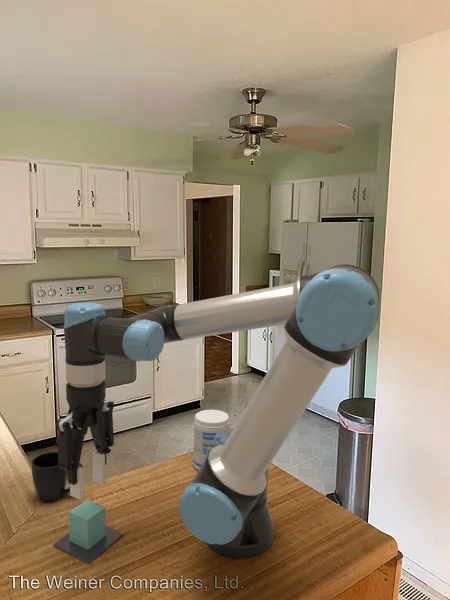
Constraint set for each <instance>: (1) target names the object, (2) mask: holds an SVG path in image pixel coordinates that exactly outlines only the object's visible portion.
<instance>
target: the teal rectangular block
mask: <svg viewBox="0 0 450 600" xmlns="http://www.w3.org/2000/svg"><path fill="white" fill-rule="evenodd" d="M106 507H107V506H104V505H101V504H99V503H97V502H95V501H92V500H89V499H86V500H85V501H83V502H80V504H78V505H77V506H75V507H74V508H73V509H71V510H70V511H68V524H69V525H68V530H69V531H68V533H69V537H70V541H71V542H73V543H75V544H77V545H79V546H81V547H83V548H85V549H87V550H88V549H90V548H91V547H92V546H93V545H95V544H96V543H97V542H98V541H100V540H101V539H102V538H103V537H105V536H106V526H107V518H106V517H107V516H106V515H107V514H106V511H107V510H106V509H107V508H106Z"/></svg>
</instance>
